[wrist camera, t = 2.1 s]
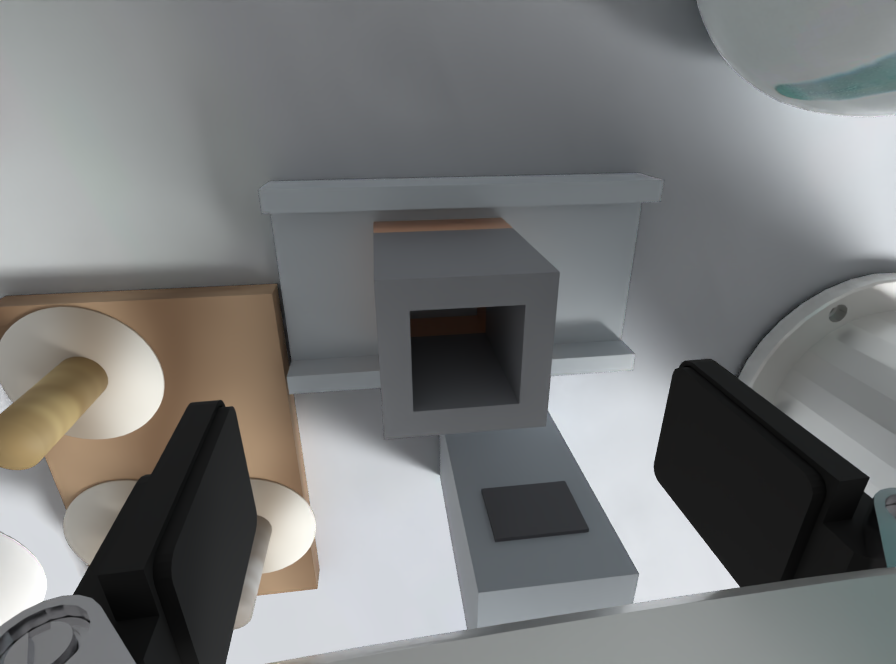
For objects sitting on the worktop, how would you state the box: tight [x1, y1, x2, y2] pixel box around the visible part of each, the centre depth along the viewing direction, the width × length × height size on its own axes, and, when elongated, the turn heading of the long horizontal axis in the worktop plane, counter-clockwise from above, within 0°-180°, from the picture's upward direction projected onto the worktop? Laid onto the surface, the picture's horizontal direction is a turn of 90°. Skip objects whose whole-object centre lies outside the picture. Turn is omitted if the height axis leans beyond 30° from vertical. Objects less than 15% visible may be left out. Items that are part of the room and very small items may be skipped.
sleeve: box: [373, 218, 560, 440], centre depth 18 cm, size 5×5×7 cm
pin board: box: [0, 284, 320, 630], centre depth 21 cm, size 11×16×6 cm
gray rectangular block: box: [439, 411, 639, 630], centre depth 21 cm, size 5×4×10 cm
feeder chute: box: [258, 173, 664, 394], centre depth 21 cm, size 14×8×2 cm, turn 89°
